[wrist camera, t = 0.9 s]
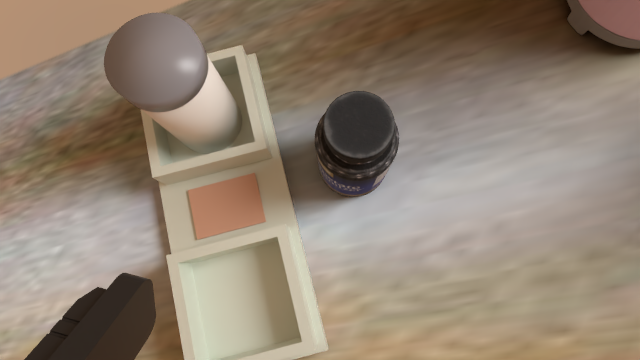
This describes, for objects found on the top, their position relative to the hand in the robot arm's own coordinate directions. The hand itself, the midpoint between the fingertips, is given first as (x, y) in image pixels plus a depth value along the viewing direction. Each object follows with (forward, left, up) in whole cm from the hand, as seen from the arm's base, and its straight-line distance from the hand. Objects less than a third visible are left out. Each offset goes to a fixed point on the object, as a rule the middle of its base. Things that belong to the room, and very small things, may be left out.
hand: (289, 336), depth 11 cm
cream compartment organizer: (+11, 0, -25) cm, 28 cm away
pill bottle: (+5, -10, -26) cm, 28 cm away
